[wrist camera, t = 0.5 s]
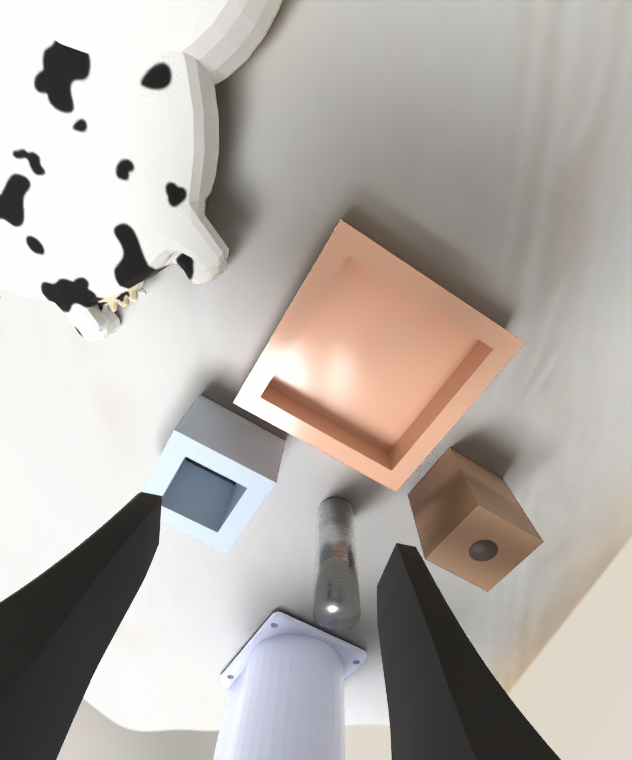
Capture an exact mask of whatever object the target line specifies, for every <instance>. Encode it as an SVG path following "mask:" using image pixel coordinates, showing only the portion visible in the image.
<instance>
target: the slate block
mask: <svg viewBox="0 0 632 760" xmlns="http://www.w3.org/2000/svg"><path fill="white" fill-rule="evenodd" d="M284 444H285V440H283V439H281V438H279V437H278V436H276V435H274V434H272V433H270V432H268V431H267V430H265V429H263V428H261V427H259V426H257V425H256V424H254V423H252V422H250V421H248V420H246V419H244V418H243V417H241V416H239V415H237V414H235V413H233V412H232V411H230V410H228V409H226V408H224V407H222V406H221V405H219V404H217V403H215V402H213V401H211V400H209V399H208V398H206V397H204V396H202V395H200V396H199V397H198V398H197V400H196V401H195V402H194V404H193V405H192V406H191V408H190V409H189V410H188V412H187V413H186V414H185V416H184V417H183V418H182V420H181V421H180V422H179V424H178V425H177V427H176V428H175V429H174V431H173V433H172V434H171V436H170V438H169V440H168V442H167V444H166V446H165V447H164V449H163V451H162V453H161V455H160V457H159V459H158V460H157V462H156V464H155V466H154V468H153V470H152V472H151V473H150V475H149V477H148V479H147V481H146V483H145V484H144V486H143V488H142V490H141V492H145V493H150V494H155V495H160V496H162V506H161V519H160V522H161V523H163V524H165V525H167V526H169V527H171V528H173V529H175V530H177V531H179V532H182V533H184V534H186V535H188V536H190V537H192V538H194V539H196V540H198V541H201V542H203V543H205V544H207V545H209V546H211V547H213V548H215V549H217V550H220V551H222V552H224V553H226V554H227V552H228V551H229V549H230V548H231V547H232V545H233V544H234V542H235V541H236V539H237V538H238V537H239V535H240V534H241V532H242V531H243V530H244V528H245V527H246V525H247V524H248V522H249V521H250V520H251V518H252V517H253V515H254V514H255V512H256V511H257V510H258V508H259V507H260V505H261V504H262V502H263V501H264V500H265V498H266V497H267V495H268V494H269V493H270V491H271V490H272V488H273V487H274V485H275V484H276V482H277V477H278V472H279V468H280V463H281V458H282V453H283V449H284ZM186 457H188V458H190V459H192V460H193V461H195V462H197V463H199V464H201V465H203V466H205V467H207V468H209V469H211V470H213V471H215V472H217V473H219V474H221V475H223V476H225V477H227V478H229V479H231V480H233V481H235V482H237V483H236V484H235V485H234V484H232V483H230V482H228V481H226V480H224V479H222V478H220V477H218V476H216V475H214V474H212V473H210V472H208V471H206V470H204V469H202V468H200V467H198V466H196V465H194V464H192V463H190V462H188V461H186V460H185V459H186Z"/></svg>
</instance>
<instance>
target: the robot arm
mask: <svg viewBox="0 0 632 760" xmlns="http://www.w3.org/2000/svg"><path fill="white" fill-rule="evenodd" d="M161 506H162V496H160V495H155V494H150V493H145V492H140V493H139V494H137V495H136V496H135V497H134V498H133V499H132V500H131V501H130V502H129V503H128V504H126V505H125V506H124V507H123V508H122V509H121V510H120V511H119V512H118V513H117V514H115V515H114V516H113V517H112V518H111V519H110V520H109V521H108V522H106V523H105V524H104V525H103V526H102V527H101V528H99V529H98V530H97V531H96V532H95V533H93V534H92V535H91V536H90V537H89V538H87V539H86V540H85V541H84V542H83V543H81V544H80V545H79V546H78V547H76V548H75V549H74V550H73V551H71V552H70V553H69V554H67V555H66V556H65V557H64V558H62V559H61V560H60V561H58V562H57V563H56V564H54V565H53V566H52V567H50V568H49V569H48V570H46V571H45V572H44V573H42V574H41V575H40V576H38V577H37V578H35V579H34V580H33V581H31V582H30V583H28V584H27V585H25V586H24V587H23V588H21V589H20V590H18V591H17V592H15V593H14V594H12V595H11V596H9V597H8V598H6V599H5V600H3V601H2V602H0V760H56V759H57V756H58V754H59V752H60V749H61V747H62V744H63V742H64V740H65V738H66V735H67V733H68V730H69V728H70V726H71V723H72V721H73V719H74V717H75V714H76V712H77V710H78V708H79V705H80V703H81V701H82V699H83V696H84V694H85V692H86V690H87V687H88V685H89V683H90V681H91V678H92V676H93V674H94V672H95V670H96V668H97V666H98V664H99V662H100V660H101V658H102V656H103V655H104V653H105V651H106V649H107V647H108V645H109V644H110V642H111V640H112V638H113V636H114V634H115V632H116V631H117V629H118V627H119V625H120V623H121V621H122V620H123V618H124V616H125V614H126V612H127V610H128V608H129V607H130V605H131V603H132V601H133V599H134V597H135V595H136V594H137V592H138V590H139V588H140V586H141V584H142V582H143V580H144V578H145V576H146V574H147V571H148V569H149V567H150V564H151V562H152V559H153V557H154V554H155V552H156V549H157V547H158V544H159V533H160V519H161ZM377 620H378V630H379V639H380V647H381V655H382V662H383V670H384V678H385V685H386V693H387V701H388V708H389V719H390V728H391V729H390V730H391V751H392V760H561V759H560V758H559V757H558V756H557V755H556V754H555V753H554V751H553V750H552V749H551V748H550V747H549V746H548V745H547V743H546V742H545V741H544V740H543V739H542V737H541V736H540V735H539V734H538V733H537V731H536V730H535V729H534V728H533V726H532V725H531V724H530V723H529V722H528V721H527V719H526V718H525V717H524V716H523V714H522V713H521V712H520V710H519V709H518V708H517V707H516V705H515V704H514V703H513V701H512V700H511V699H510V698H509V696H508V695H507V694H506V692H505V691H504V689H503V688H502V687H501V685H500V684H499V683H498V681H497V680H496V679H495V677H494V676H493V675H492V673H491V672H490V670H489V669H488V667H487V666H486V665H485V663H484V662H483V660H482V659H481V657H480V656H479V654H478V653H477V651H476V650H475V648H474V647H473V645H472V643H471V642H470V640H469V639H468V637H467V636H466V634H465V632H464V631H463V629H462V628H461V626H460V624H459V623H458V621H457V619H456V618H455V616H454V614H453V613H452V611H451V609H450V608H449V606H448V604H447V603H446V601H445V599H444V597H443V596H442V594H441V592H440V590H439V588H438V587H437V585H436V583H435V581H434V579H433V578H432V576H431V574H430V572H429V570H428V568H427V567H426V565H425V563H424V561H423V559H422V557H421V555H420V554H419V552H418V550H417V548H416V547H413V546H408V545H403V544H399V543H396V545H395V548H394V550H393V552H392V554H391V556H390V559H389V561H388V563H387V565H386V567H385V570H384V572H383V574H382V576H381V579H380V581H379V583H378V585H377ZM366 659H367V654H366V652H365V651H364V650H362V649H360V648H358V647H356V646H354V645H352V644H349V643H347V642H345V641H343V640H341V639H339V638H336V637H334V636H332V635H330V634H328V633H325V632H323V631H321V630H319V629H317V628H315V627H312V626H310V625H308V624H306V623H304V622H301V621H299V620H297V619H295V618H293V617H291V616H288V615H286V614H284V613H282V612H274V613H273V614H272V615H271V616H270V617H269V618H268V620H267V621H266V622H265V623H264V624H263V626H262V627H261V628H260V629H259V630H258V632H257V633H256V634H255V635H254V636H253V638H252V639H251V640H250V641H249V642H248V644H247V645H246V646H245V647H244V648H243V649H242V651H241V652H240V653H239V654H238V655H237V657H236V658H235V659H234V660H233V661H232V663H231V664H230V665H229V666H228V667H227V669H226V670H225V671H224V672H223V673H222V675H221V676H220V678H219V682H218V683H219V685H220V686H222V687H224V688H227V689H229V690H228V694H227V699H226V703H225V708H224V712H223V717H222V722H221V726H220V731H219V735H218V740H217V744H216V749H215V753H214V758H213V760H345V722H344V681H345V680H346V679H347V678H348V677H349V676H350V675H351V674H352V673H353V672H354V671H355V670H356V669H357V668H358V667H359V666H360V665H361V664H362V663H364V662H365V661H366Z"/></svg>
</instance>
